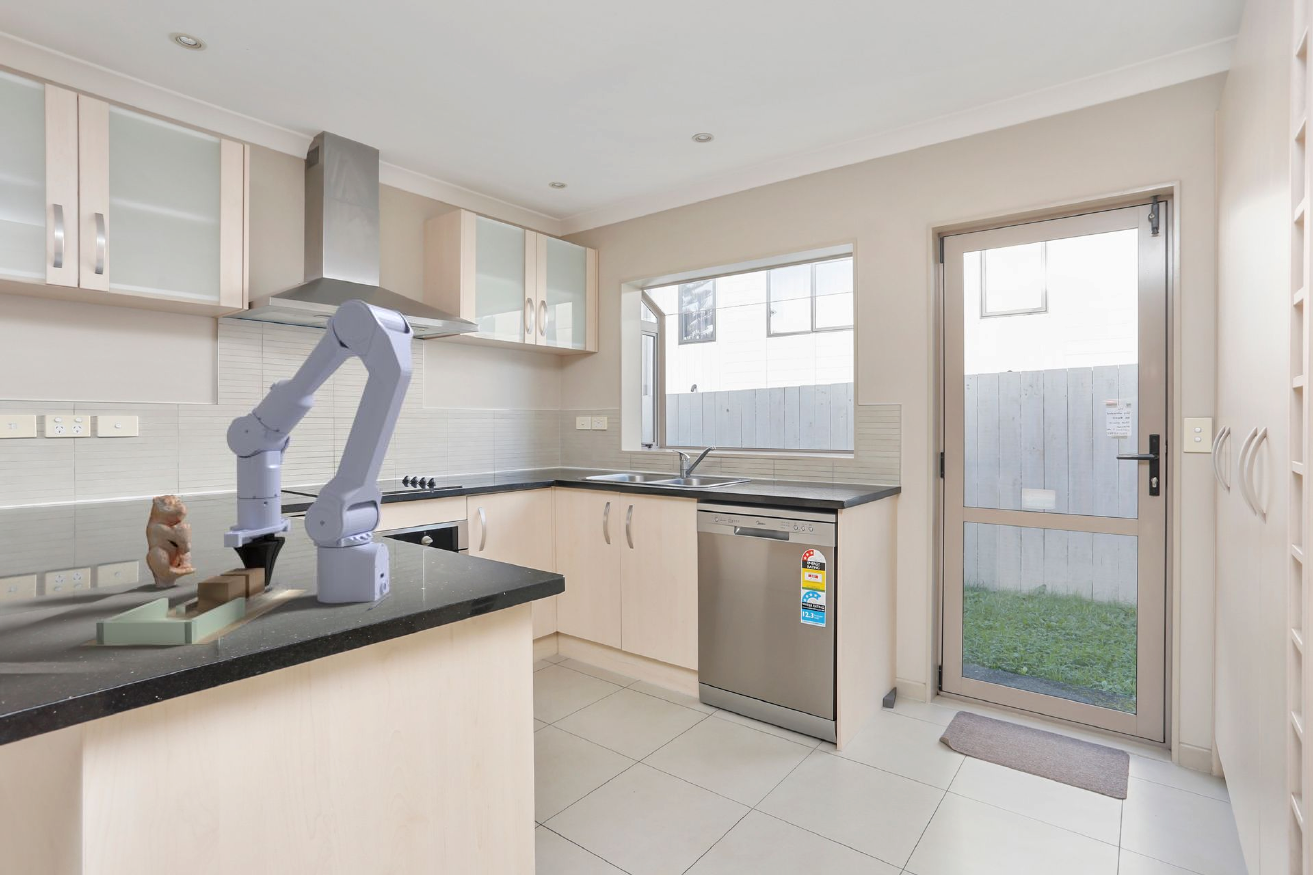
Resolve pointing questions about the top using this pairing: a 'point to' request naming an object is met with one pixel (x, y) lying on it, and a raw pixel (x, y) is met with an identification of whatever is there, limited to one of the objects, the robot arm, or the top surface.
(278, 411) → the robot arm
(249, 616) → the slot board
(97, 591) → the top surface
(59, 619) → the top surface
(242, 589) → the chip
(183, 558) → the figurine
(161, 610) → the tray
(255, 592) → the brown wooden block
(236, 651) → the top surface
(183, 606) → the slot rails
